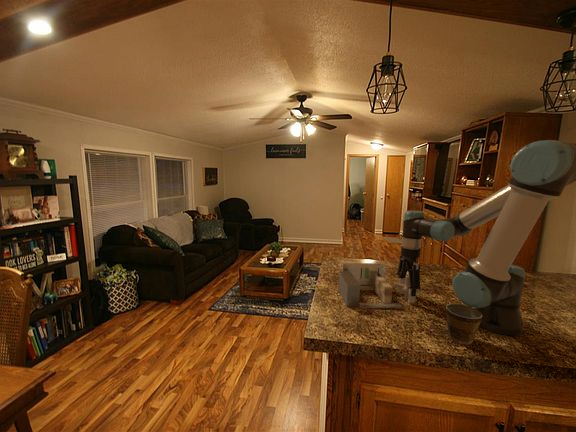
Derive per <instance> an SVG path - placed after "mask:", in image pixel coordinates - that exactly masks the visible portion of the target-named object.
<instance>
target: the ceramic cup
mask: <svg viewBox="0 0 576 432" xmlns="http://www.w3.org/2000/svg"><path fill="white" fill-rule="evenodd" d="M441 306H443V307H444V308H445V312H444V311H443V309H442V308H441ZM438 309H439V311H440V312H441V314H442V315H443V316H444V318H445V319H446V322H447V335H448V337H449V339H450V340H452V341H453V342H455V343H457V344H459V345H466V346H470V345H471V344H472V343H473V342H474V339H475V338H476V334H477V333H478V329H479V327H480V326H479V325H480V322H481V319H482V314H481V312H479V311H478V310H476V309H474V308H473V307H470V306H467V305H466V304H463V303H447V304H446V303H439V305H438Z"/></svg>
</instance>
